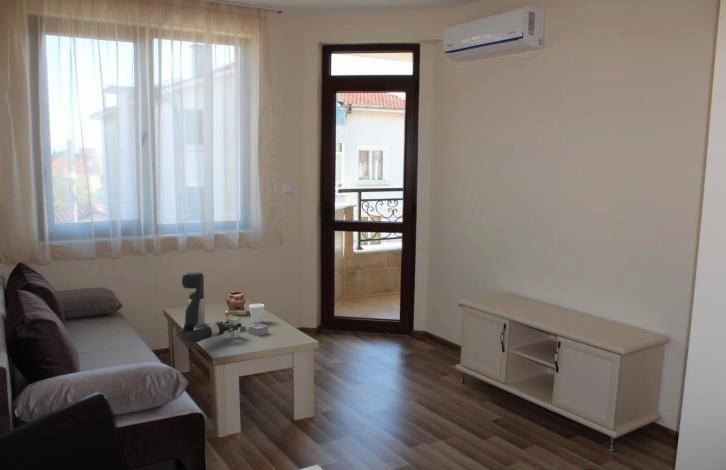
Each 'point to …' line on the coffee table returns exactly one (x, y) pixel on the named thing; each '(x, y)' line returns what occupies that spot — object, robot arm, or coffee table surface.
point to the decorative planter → (235, 301)
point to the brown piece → (233, 313)
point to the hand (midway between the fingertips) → (235, 323)
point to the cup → (256, 312)
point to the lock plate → (241, 328)
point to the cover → (237, 332)
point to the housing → (258, 329)
